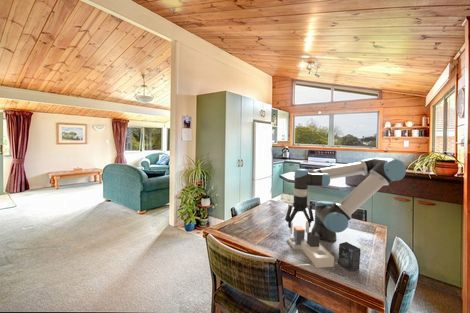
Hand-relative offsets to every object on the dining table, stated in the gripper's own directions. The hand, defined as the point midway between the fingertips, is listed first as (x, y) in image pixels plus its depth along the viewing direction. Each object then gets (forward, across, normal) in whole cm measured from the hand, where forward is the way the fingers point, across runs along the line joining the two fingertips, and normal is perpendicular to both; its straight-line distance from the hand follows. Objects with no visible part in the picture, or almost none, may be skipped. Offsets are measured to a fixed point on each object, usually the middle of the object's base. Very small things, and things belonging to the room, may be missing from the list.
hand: (299, 232), depth 129 cm
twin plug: (+8, -4, +10) cm, 13 cm away
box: (+8, -16, +23) cm, 29 cm away
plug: (+7, 0, 0) cm, 7 cm away
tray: (+8, 0, 0) cm, 8 cm away
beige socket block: (+8, -7, +14) cm, 18 cm away
